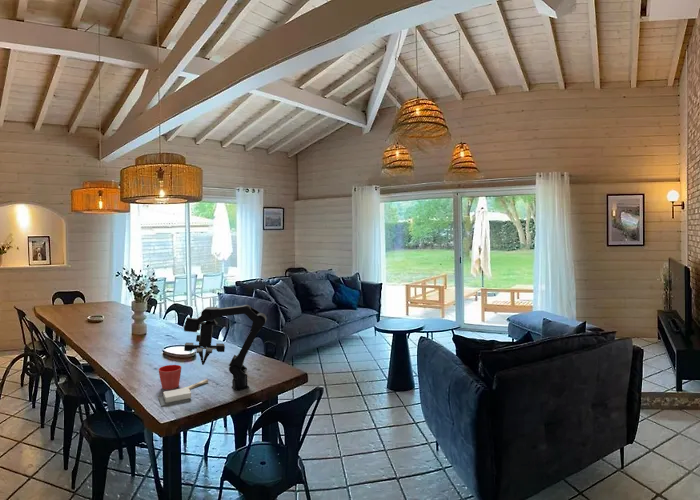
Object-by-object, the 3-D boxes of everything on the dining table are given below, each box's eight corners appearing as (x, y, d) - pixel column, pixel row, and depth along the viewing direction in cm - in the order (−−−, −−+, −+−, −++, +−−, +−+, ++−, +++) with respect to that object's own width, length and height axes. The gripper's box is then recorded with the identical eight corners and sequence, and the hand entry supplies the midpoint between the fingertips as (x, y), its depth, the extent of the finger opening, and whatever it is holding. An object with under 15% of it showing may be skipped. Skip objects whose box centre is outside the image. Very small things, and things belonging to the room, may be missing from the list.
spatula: (204, 380, 229) (204, 378, 229) (210, 382, 226) (210, 380, 226) (174, 392, 215) (174, 390, 214) (179, 395, 212) (179, 393, 212)
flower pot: (185, 382, 227) (184, 364, 227) (177, 390, 216) (176, 371, 216) (164, 383, 227) (163, 364, 226) (155, 391, 216) (154, 371, 215)
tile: (188, 387, 212) (163, 391, 207) (191, 392, 206) (165, 397, 200) (188, 392, 213) (163, 397, 207) (191, 398, 206) (165, 403, 200)
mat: (185, 392, 214) (185, 391, 214) (189, 401, 203) (189, 400, 203) (158, 397, 208) (158, 396, 208) (161, 407, 198) (161, 405, 198)
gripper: (225, 330, 227) (221, 360, 228) (186, 328, 221) (183, 359, 222) (226, 335, 217) (222, 366, 217) (185, 333, 211) (182, 366, 211)
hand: (202, 364), depth 217 cm, fingers closed
